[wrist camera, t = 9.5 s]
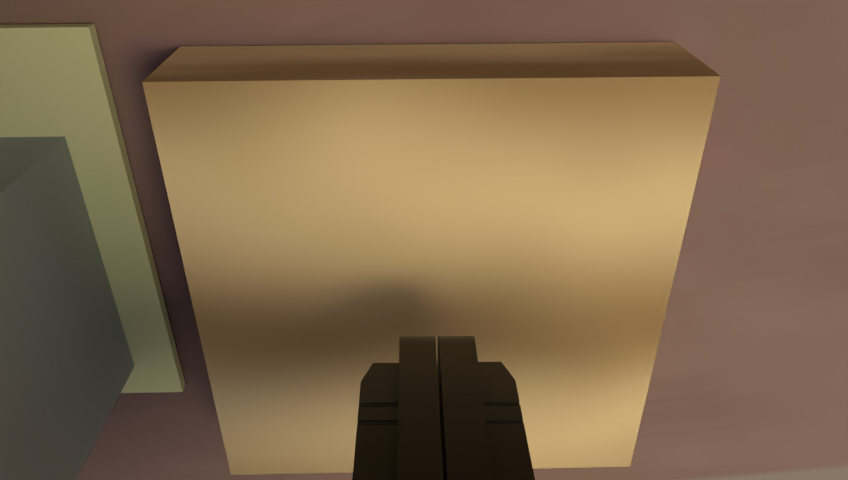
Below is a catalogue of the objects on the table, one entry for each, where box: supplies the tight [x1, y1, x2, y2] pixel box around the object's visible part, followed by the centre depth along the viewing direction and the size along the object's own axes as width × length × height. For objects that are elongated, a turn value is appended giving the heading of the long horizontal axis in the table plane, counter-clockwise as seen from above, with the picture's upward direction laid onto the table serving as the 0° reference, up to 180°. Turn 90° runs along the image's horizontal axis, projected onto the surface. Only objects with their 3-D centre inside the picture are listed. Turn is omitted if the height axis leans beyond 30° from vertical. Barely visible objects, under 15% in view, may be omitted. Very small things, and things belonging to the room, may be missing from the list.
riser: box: [142, 42, 721, 475], centre depth 17 cm, size 11×11×2 cm
